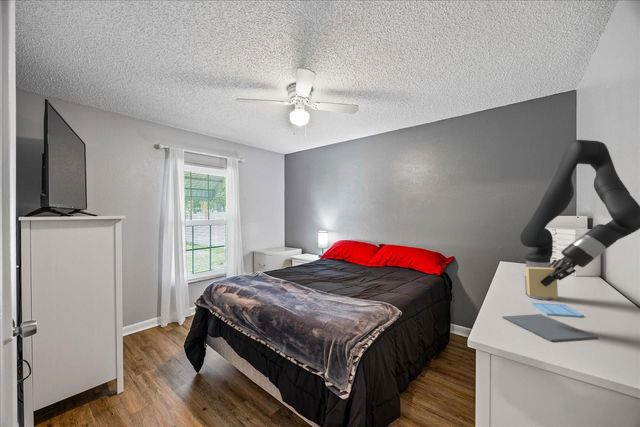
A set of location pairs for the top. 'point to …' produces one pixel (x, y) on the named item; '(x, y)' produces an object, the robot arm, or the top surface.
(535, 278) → the yellow block
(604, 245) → the robot arm
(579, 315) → the light blue flat slab
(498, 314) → the top surface
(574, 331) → the mat
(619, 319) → the top surface
